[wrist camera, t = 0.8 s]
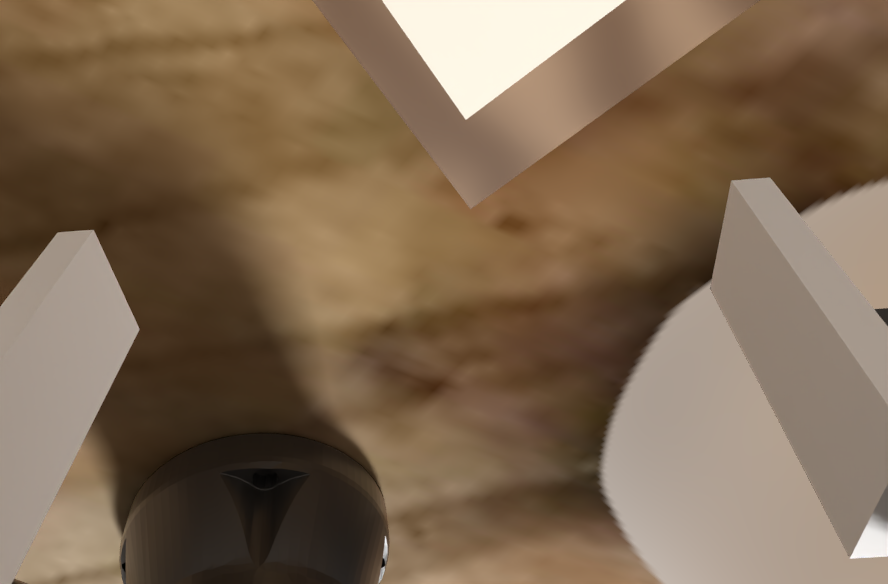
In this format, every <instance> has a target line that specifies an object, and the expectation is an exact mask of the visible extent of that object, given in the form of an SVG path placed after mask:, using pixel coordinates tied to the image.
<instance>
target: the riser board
mask: <svg viewBox="0 0 888 584" xmlns="http://www.w3.org/2000/svg"><path fill="white" fill-rule="evenodd" d="M758 1H760V0H625V1H624V2H623V3H621V4H620V5H619V6H617V7H616V8H615V9H613V10H612V11H611V12H609V13H608V14H607V15H605V16H604V17H603V18H601V19H600V20H599V21H597V22H596V23H595V24H593V25H592V26H591V27H589V28H588V29H587V30H585V31H584V32H583V33H581V34H580V35H579V36H577V37H576V38H575V39H573V40H572V41H571V42H569V43H568V44H567V45H565V46H564V47H563V48H561V49H560V50H559V51H557V52H556V53H555V54H553V55H552V56H551V57H549V58H548V59H547V60H545V61H544V62H543V63H541V64H540V65H539V66H537V67H536V68H535V69H533V70H532V71H531V72H529V73H528V74H527V75H525V76H524V77H523V78H521V79H520V80H519V81H517V82H516V83H514V84H513V85H512V86H510V87H509V88H508V89H506V90H505V91H504V92H502V93H501V94H500V95H498V96H497V97H496V98H494V99H493V100H492V101H490V102H489V103H488V104H486V105H485V106H484V107H482V108H481V109H480V110H478V111H477V112H476V113H474V114H473V115H472V116H470V117H469V118H468V119H465V118H464V117H463V115H462V114H461V112H460V111H459V109H458V108H457V107H456V105H455V104H454V102H453V101H452V100H451V98H450V97H449V95H448V94H447V92H446V91H445V90H444V88H443V87H442V85H441V84H440V82H439V81H438V80H437V78H436V77H435V75H434V74H433V72H432V71H431V70H430V68H429V67H428V65H427V64H426V63H425V61H424V60H423V58H422V57H421V55H420V54H419V53H418V51H417V50H416V48H415V47H414V45H413V44H412V43H411V41H410V40H409V38H408V37H407V35H406V34H405V33H404V31H403V30H402V28H401V27H400V25H399V24H398V23H397V21H396V20H395V18H394V17H393V16H392V14H391V13H390V11H389V10H388V8H387V7H386V6H385V4H384V3H383V1H382V0H313V2H314V3H315V4H316V6H317V7H318V8H319V10H320V11H321V12H322V14H323V15H324V16H325V18H326V19H327V20H328V22H329V23H330V24H331V26H332V27H333V28H334V30H335V31H336V32H337V33H338V35H339V36H340V37H341V39H342V40H343V41H344V43H345V44H346V45H347V47H348V48H349V49H350V51H351V52H352V53H353V55H354V56H355V57H356V59H357V60H358V61H359V63H360V64H361V65H362V66H363V68H364V69H365V70H366V72H367V73H368V74H369V76H370V77H371V78H372V80H373V81H374V82H375V84H376V85H377V86H378V88H379V89H380V90H381V92H382V93H383V94H384V96H385V97H386V98H387V99H388V101H389V102H390V103H391V105H392V106H393V107H394V109H395V110H396V111H397V113H398V114H399V115H400V117H401V118H402V119H403V121H404V122H405V123H406V125H407V126H408V127H409V129H410V130H411V131H412V132H413V134H414V135H415V136H416V138H417V139H418V140H419V142H420V143H421V144H422V146H423V147H424V148H425V150H426V151H427V152H428V154H429V155H430V156H431V158H432V159H433V160H434V162H435V163H436V164H437V165H438V167H439V168H440V169H441V171H442V172H443V173H444V175H445V176H446V177H447V179H448V180H449V181H450V183H451V184H452V185H453V187H454V188H455V189H456V191H457V192H458V193H459V195H460V196H461V197H462V198H463V200H464V201H465V202H466V204H467V205H468V206H469V208H470V209H471V208H473V207H474V206H476V205H477V204H478V203H480V202H481V201H483V200H484V199H485V198H487V197H488V196H489V195H491V194H492V193H494V192H495V191H496V190H498V189H499V188H501V187H502V186H503V185H505V184H506V183H507V182H509V181H510V180H512V179H513V178H514V177H516V176H517V175H519V174H520V173H521V172H523V171H524V170H525V169H527V168H528V167H530V166H531V165H532V164H534V163H535V162H537V161H538V160H539V159H541V158H542V157H544V156H545V155H546V154H548V153H549V152H550V151H552V150H553V149H555V148H556V147H557V146H559V145H560V144H562V143H563V142H564V141H566V140H567V139H568V138H570V137H571V136H573V135H574V134H575V133H577V132H578V131H580V130H581V129H582V128H584V127H585V126H586V125H588V124H589V123H591V122H592V121H593V120H595V119H596V118H598V117H599V116H600V115H602V114H603V113H604V112H606V111H607V110H609V109H610V108H611V107H613V106H614V105H616V104H617V103H618V102H620V101H621V100H622V99H624V98H625V97H627V96H628V95H629V94H631V93H632V92H634V91H635V90H636V89H638V88H639V87H641V86H642V85H643V84H645V83H646V82H647V81H649V80H650V79H652V78H653V77H654V76H656V75H657V74H659V73H660V72H661V71H663V70H664V69H665V68H667V67H668V66H670V65H671V64H672V63H674V62H675V61H677V60H678V59H679V58H681V57H682V56H683V55H685V54H686V53H688V52H689V51H690V50H692V49H693V48H695V47H696V46H697V45H699V44H700V43H701V42H703V41H704V40H706V39H707V38H708V37H710V36H711V35H713V34H714V33H715V32H717V31H718V30H719V29H721V28H722V27H724V26H725V25H726V24H728V23H729V22H731V21H732V20H733V19H735V18H736V17H737V16H739V15H740V14H742V13H743V12H744V11H746V10H747V9H749V8H750V7H751V6H753V5H754V4H756V3H757V2H758Z"/></svg>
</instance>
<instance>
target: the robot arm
mask: <svg viewBox="0 0 888 584" xmlns="http://www.w3.org/2000/svg"><path fill="white" fill-rule="evenodd" d="M710 289H711V291H712V293H713V295H714V297H715V299H716V301H717V303H718V305H719V307H720V309H721V310H722V312H723V315H724V316H725V318H726V320H727V322H728V324H729V326H730V328H731V330H732V332H733V333H734V336H735V338H736V340H737V342H738V343H739V345H740V347H741V349H742V351H743V353H744V355H745V357H746V359H747V361H748V363H749V364H750V367H751V368H752V370H753V372H754V374H755V376H756V378H757V380H758V382H759V384H760V386H761V388H762V390H763V392H764V394H765V395H766V397H767V400H768V401H769V403H770V405H771V407H772V409H773V411H774V413H775V415H776V417H777V419H778V421H779V423H780V424H781V426H782V429H783V430H784V432H785V434H786V436H787V438H788V440H789V442H790V444H791V446H792V448H793V450H794V452H795V453H796V456H797V457H798V459H799V461H800V463H801V465H802V467H803V469H804V471H805V473H806V475H807V477H808V479H809V481H810V483H811V485H812V486H813V488H814V490H815V492H816V494H817V496H818V498H819V500H820V502H821V504H822V506H823V508H824V510H825V512H826V514H827V515H828V517H829V519H830V521H831V523H832V525H833V527H834V529H835V531H836V533H837V535H838V537H839V539H840V540H841V542H842V544H843V546H844V548H845V550H846V552H847V554H848V556H849V558H867V557H886V556H888V308H887V309H874V308H873V307H872V306H871V305H870V303H869V302H868V301H867V300H866V298H865V297H864V296H863V295H862V293H861V292H860V291H859V289H858V288H857V287H856V286H855V285H854V283H853V282H852V281H851V279H850V278H849V277H848V276H847V274H846V273H845V272H844V271H843V270H842V268H841V267H840V265H839V264H838V263H837V262H836V261H835V259H834V258H833V257H832V255H831V254H830V253H829V252H828V250H827V249H826V248H825V247H824V245H823V244H822V243H821V241H820V240H819V239H818V238H817V236H816V235H815V234H814V233H813V231H812V230H811V229H810V228H809V227H808V225H807V224H806V223H805V221H804V220H803V219H802V217H801V216H800V215H799V214H798V212H797V211H796V210H795V209H794V207H793V206H792V205H791V204H790V202H789V201H788V200H787V199H786V197H785V196H784V195H783V193H782V192H781V191H780V190H779V188H778V187H777V186H776V185H775V183H774V182H773V181H772V180H771V178H760V179H747V180H734V181H731V185H730V190H729V195H728V201H727V206H726V211H725V216H724V221H723V226H722V231H721V236H720V241H719V246H718V251H717V256H716V261H715V267H714V272H713V277H712V282H711V287H710ZM139 330H140V329H139V327H138V325H137V322H136V320H135V318H134V316H133V314H132V312H131V309H130V307H129V305H128V303H127V301H126V299H125V296H124V294H123V292H122V290H121V288H120V286H119V283H118V281H117V279H116V277H115V275H114V273H113V271H112V268H111V266H110V264H109V262H108V260H107V258H106V255H105V253H104V251H103V249H102V247H101V245H100V242H99V240H98V238H97V236H96V234H95V232H94V230H82V231H69V232H58V233H57V234H56V235H55V237H54V238H53V239H52V240H51V242H50V243H49V244H48V246H47V247H46V248H45V249H44V251H43V252H42V253H41V255H40V256H39V257H38V259H37V260H36V261H35V262H34V264H33V265H32V266H31V268H30V269H29V270H28V271H27V273H26V274H25V275H24V277H23V278H22V279H21V280H20V282H19V283H18V284H17V286H16V287H15V288H14V290H13V291H12V292H11V293H10V295H9V296H8V297H7V299H6V300H5V301H4V302H3V304H2V305H1V306H0V584H27V583H24V582H21V581H19V580H16V579H14V578H15V576H16V574H17V572H18V570H19V568H20V566H21V564H22V562H23V560H24V558H25V556H26V554H27V552H28V550H29V548H30V546H31V544H32V542H33V540H34V538H35V536H36V534H37V532H38V530H39V528H40V526H41V524H42V522H43V520H44V518H45V516H46V514H47V512H48V510H49V508H50V506H51V504H52V503H53V501H54V499H55V497H56V495H57V493H58V491H59V489H60V487H61V485H62V483H63V481H64V479H65V477H66V475H67V473H68V471H69V469H70V467H71V465H72V463H73V461H74V459H75V457H76V455H77V453H78V451H79V449H80V447H81V445H82V443H83V441H84V439H85V437H86V435H87V433H88V431H89V429H90V427H91V425H92V423H93V421H94V419H95V417H96V415H97V413H98V411H99V409H100V407H101V405H102V403H103V401H104V399H105V397H106V395H107V393H108V391H109V389H110V387H111V385H112V383H113V381H114V379H115V377H116V375H117V373H118V371H119V369H120V367H121V365H122V363H123V361H124V359H125V357H126V355H127V353H128V351H129V349H130V347H131V346H132V344H133V342H134V340H135V338H136V336H137V334H138V332H139ZM388 555H389V530H388V522H387V514H386V507H385V502H384V499H383V496H382V494H381V492H380V490H379V488H378V486H377V484H376V483H375V481H374V480H373V478H372V477H371V476H370V475H369V474H368V472H367V471H366V470H365V469H364V468H363V467H362V466H360V465H359V464H358V463H357V462H356V461H354V460H353V459H351V458H350V457H349V456H347V455H345V454H344V453H342V452H340V451H338V450H336V449H334V448H332V447H330V446H327V445H325V444H322V443H319V442H316V441H313V440H310V439H306V438H301V437H296V436H290V435H282V434H246V435H238V436H231V437H226V438H221V439H218V440H214V441H210V442H207V443H204V444H201V445H199V446H196V447H194V448H192V449H189V450H187V451H185V452H183V453H181V454H180V455H178V456H176V457H174V458H173V459H171V460H170V461H168V462H167V463H165V464H164V465H163V466H161V467H160V468H159V469H158V470H157V471H156V472H155V473H153V474H152V475H151V476H150V478H149V479H148V480H147V481H146V482H145V483H144V485H143V486H142V487H141V489H140V490H139V492H138V493H137V495H136V497H135V499H134V501H133V503H132V506H131V509H130V512H129V516H128V519H127V522H126V526H125V529H124V533H123V536H122V540H121V546H120V568H121V574H122V580H123V583H124V584H379V583H380V581H381V579H382V577H383V574H384V571H385V568H386V564H387V560H388Z"/></svg>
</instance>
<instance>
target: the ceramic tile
mask: <svg viewBox="0 0 888 584" xmlns="http://www.w3.org/2000/svg"><path fill="white" fill-rule="evenodd" d="M382 1H383V3H384V4H385V6H386V7H387V8H388V10H389V11H390V13H391V14H392V16H393V17H394V18H395V20H396V21H397V23H398V24H399V25H400V27H401V28H402V30H403V31H404V33H405V34H406V35H407V37H408V38H409V40H410V41H411V43H412V44H413V45H414V47H415V48H416V50H417V51H418V53H419V54H420V55H421V57H422V58H423V60H424V61H425V63H426V64H427V65H428V67H429V68H430V70H431V71H432V72H433V74H434V75H435V77H436V78H437V80H438V81H439V82H440V84H441V85H442V87H443V88H444V90H445V91H446V92H447V94H448V95H449V97H450V98H451V100H452V101H453V102H454V104H455V105H456V107H457V108H458V109H459V111H460V112H461V114H462V115H463V117H464V118H465V119H468V118H469V117H470V116H472V115H473V114H474V113H476V112H477V111H478V110H480V109H481V108H482V107H484V106H485V105H486V104H488V103H489V102H490V101H492V100H493V99H494V98H496V97H497V96H498V95H500V94H501V93H502V92H504V91H505V90H506V89H508V88H509V87H510V86H512V85H513V84H514V83H516V82H517V81H519V80H520V79H521V78H523V77H524V76H525V75H527V74H528V73H529V72H531V71H532V70H533V69H535V68H536V67H537V66H539V65H540V64H541V63H543V62H544V61H545V60H547V59H548V58H549V57H551V56H552V55H553V54H555V53H556V52H557V51H559V50H560V49H561V48H563V47H564V46H565V45H567V44H568V43H569V42H571V41H572V40H573V39H575V38H576V37H577V36H579V35H580V34H581V33H583V32H584V31H585V30H587V29H588V28H589V27H591V26H592V25H593V24H595V23H596V22H597V21H599V20H600V19H601V18H603V17H604V16H605V15H607V14H608V13H609V12H611V11H612V10H613V9H615V8H616V7H617V6H619V5H620V4H621V3H623V2H624V1H625V0H382Z"/></svg>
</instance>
